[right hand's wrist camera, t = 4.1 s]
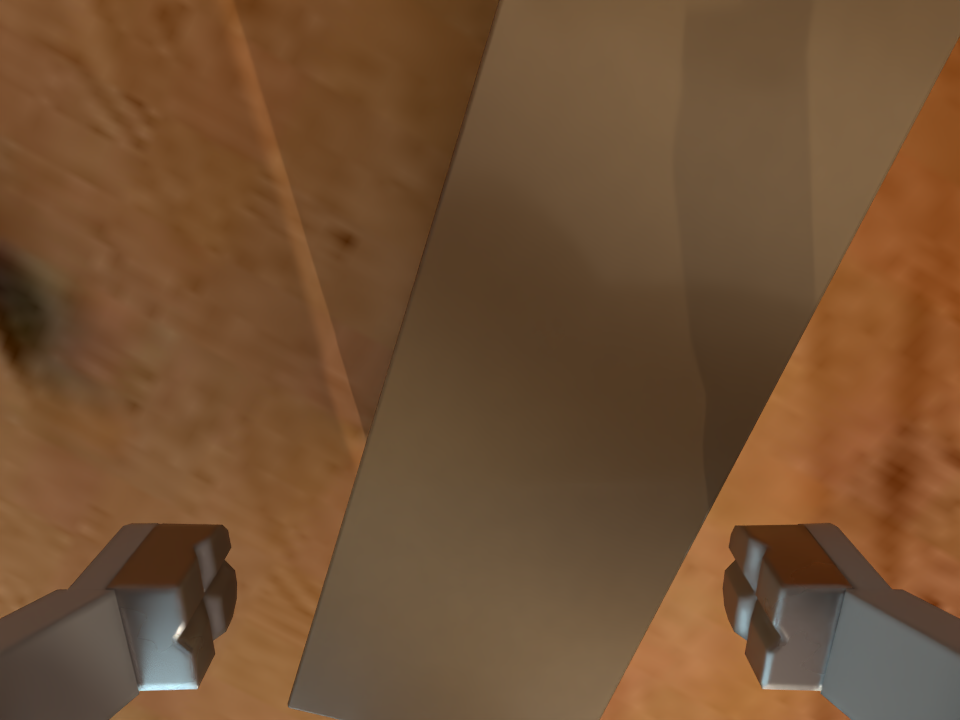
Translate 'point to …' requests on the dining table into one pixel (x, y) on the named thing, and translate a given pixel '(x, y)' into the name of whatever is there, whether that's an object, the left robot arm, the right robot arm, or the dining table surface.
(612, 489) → the cabinet
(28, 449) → the dining table surface
